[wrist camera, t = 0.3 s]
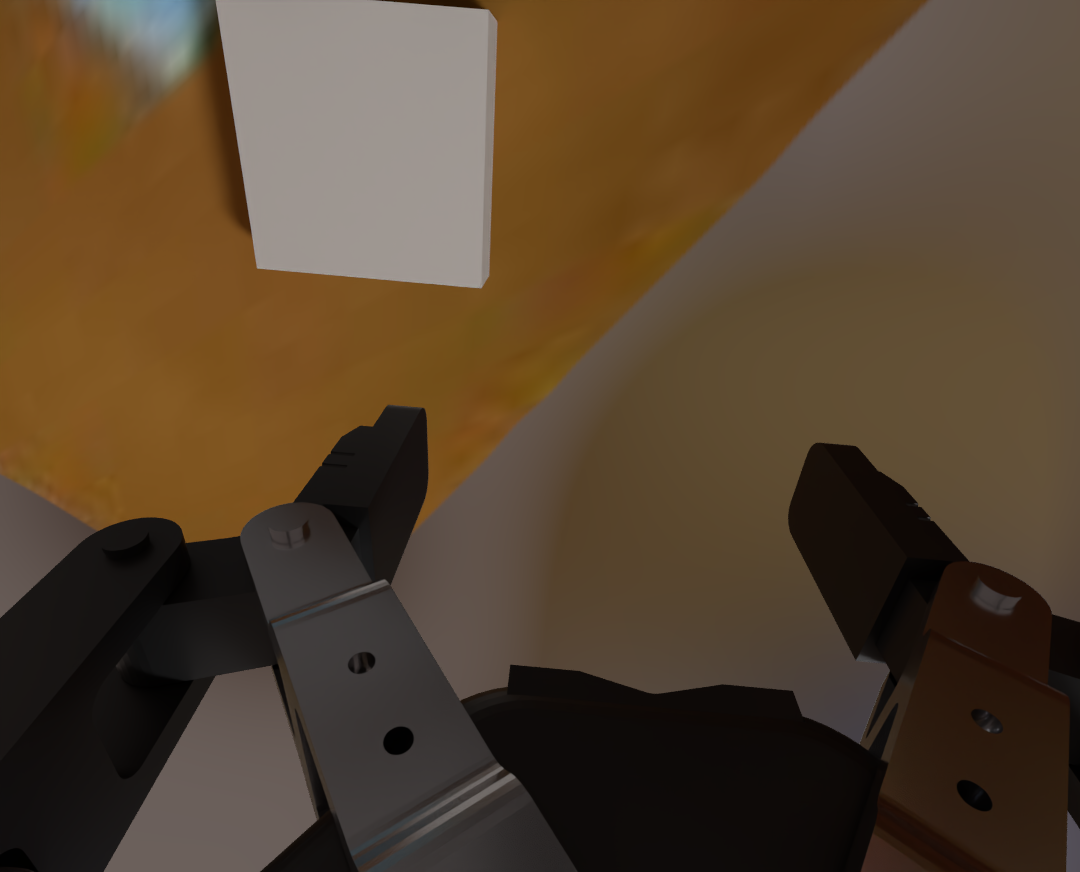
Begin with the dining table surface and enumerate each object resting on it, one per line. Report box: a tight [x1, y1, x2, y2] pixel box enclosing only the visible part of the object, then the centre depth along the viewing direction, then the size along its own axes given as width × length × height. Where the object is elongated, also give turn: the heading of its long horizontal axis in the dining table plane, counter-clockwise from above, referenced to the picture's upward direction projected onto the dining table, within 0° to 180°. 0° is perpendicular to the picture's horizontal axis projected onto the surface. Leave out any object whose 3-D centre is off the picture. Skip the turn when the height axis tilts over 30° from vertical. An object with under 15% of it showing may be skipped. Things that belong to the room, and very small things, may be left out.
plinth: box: [216, 0, 497, 288], centre depth 34 cm, size 14×14×4 cm
